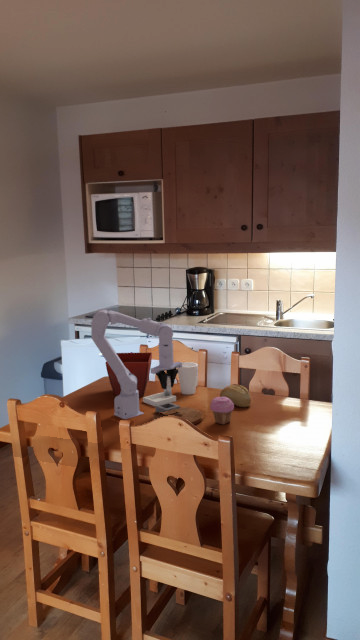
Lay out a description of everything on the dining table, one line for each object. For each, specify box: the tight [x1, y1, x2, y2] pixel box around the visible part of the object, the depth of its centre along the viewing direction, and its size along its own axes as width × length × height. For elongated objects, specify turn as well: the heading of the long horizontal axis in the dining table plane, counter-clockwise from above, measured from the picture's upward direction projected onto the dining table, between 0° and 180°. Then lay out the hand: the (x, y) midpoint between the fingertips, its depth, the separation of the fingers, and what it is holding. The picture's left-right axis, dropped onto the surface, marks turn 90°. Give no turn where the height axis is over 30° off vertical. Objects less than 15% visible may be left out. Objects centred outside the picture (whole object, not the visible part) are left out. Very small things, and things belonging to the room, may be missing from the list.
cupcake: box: [210, 396, 235, 425], centre depth 193 cm, size 9×9×10 cm
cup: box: [154, 402, 181, 413], centre depth 206 cm, size 7×7×3 cm
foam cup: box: [176, 361, 199, 396], centre depth 232 cm, size 10×9×13 cm
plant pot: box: [105, 352, 153, 398], centre depth 233 cm, size 19×19×17 cm
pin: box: [163, 375, 173, 396], centre depth 205 cm, size 3×3×8 cm
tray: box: [142, 391, 177, 407], centre depth 220 cm, size 11×9×2 cm
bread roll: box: [219, 383, 252, 408], centre depth 215 cm, size 10×15×8 cm, turn 44°
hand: (167, 387), depth 205 cm, fingers closed on pin, 3 cm apart
